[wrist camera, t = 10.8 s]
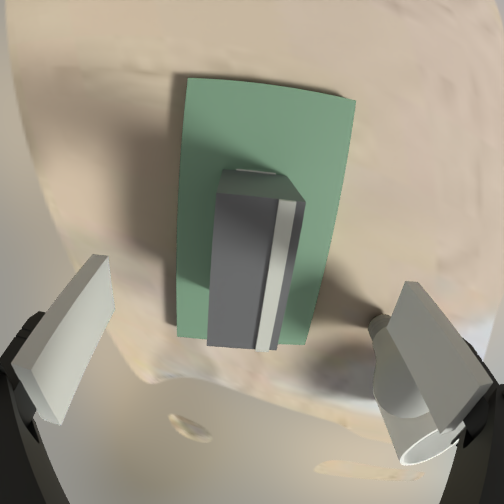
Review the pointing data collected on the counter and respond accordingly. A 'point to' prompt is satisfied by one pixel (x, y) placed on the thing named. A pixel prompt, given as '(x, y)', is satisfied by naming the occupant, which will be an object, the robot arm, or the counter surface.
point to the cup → (417, 437)
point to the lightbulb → (393, 375)
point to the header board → (262, 161)
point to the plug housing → (252, 258)
